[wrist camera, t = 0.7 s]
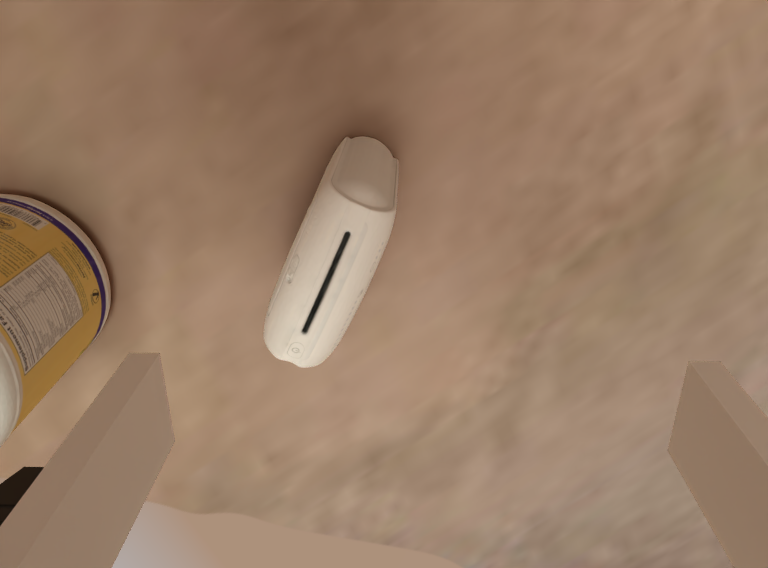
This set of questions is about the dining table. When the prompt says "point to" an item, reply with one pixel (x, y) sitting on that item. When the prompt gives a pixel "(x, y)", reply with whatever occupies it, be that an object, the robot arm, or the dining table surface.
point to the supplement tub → (43, 302)
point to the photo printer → (334, 253)
